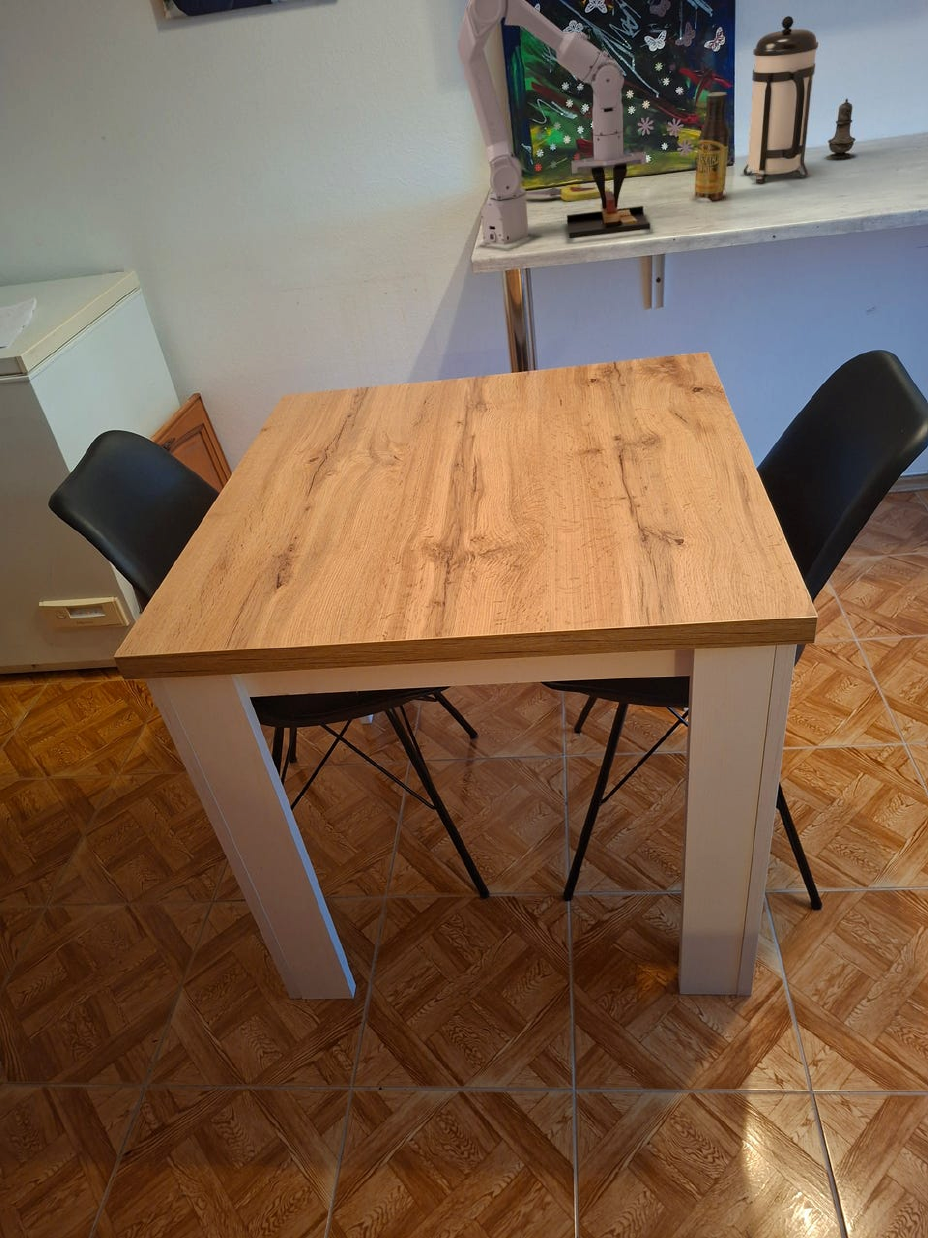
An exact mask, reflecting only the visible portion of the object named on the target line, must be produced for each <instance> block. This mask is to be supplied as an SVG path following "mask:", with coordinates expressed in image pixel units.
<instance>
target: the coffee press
mask: <svg viewBox="0 0 928 1238" xmlns="http://www.w3.org/2000/svg"><path fill="white" fill-rule="evenodd" d="M793 24H794V19H793V17H792V16H790V15H787V16H786V17H785V16H784V18H783V19H782V21H781V26H782V28H783V29H782V30H779V31H774V32H770V33H768V34H765V35H764V36H762V37H761V38H760V39H758V41H757V43H756V45H755V48H753V51H752V54H753V57H754V67H753V69H752V79H751V80H752V93H751V95H752V96H751V112H750V125H749V140H748V141H749V142H748V154H747V155H748V156H747V157H748V158H747V165H746V166H745V167H744V169H743V171H742V173H743V175H744V176H749V175H750V174H752V173H754V174H757V175H756V178H755V183H756V184H762V185H763V184H764V183H765V181H766V179H767V177H768V176H769V175H779V174H780V175H781V174H787V173H795V174H796V175H797V176H798V177H799V178H800V179H803V178H805V177H807V176H808V174H809V170H808V168H807V166H806V164H805V155H806V149H807V139H808V130H809V129H808V128H809V119H810V118H809V117H810V110H811V100H812V89H813V79H814V75H815V72H816V71H815V70H816V62H815V61H816V51H817V50H818V47H819V42H818V41H817V37H816V35H815V33H814V32H812V31H811V30H808V29H801V28H800V29H798V28H797V29H796V28H795V29H792V28H791V27H793ZM800 168H801V169H802V171H803V173H804V175H803V173H802V172H801V171H800V170H799V169H800ZM748 170H750V171H749V172H748Z"/></svg>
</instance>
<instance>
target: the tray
mask: <svg viewBox="0 0 928 1238" xmlns="http://www.w3.org/2000/svg"><path fill="white" fill-rule="evenodd" d="M617 210H618V211H622V210H629V211H630V214H631V216H633V217H634V218H635V219H636V220H637V224H632V225H624V226H620V225H619V224H618V226H615V227H607V228H605V226H604V222H603V218H602V212H601V210H597V211H590V212H589V211H588V212H581V213H573V214H567V215H566V223H567V230H568V238H569V239H577V238H584V237H585V238H586V237H593V236H603V235H609V234H610V235H611V234H619V233H628V232H636V231H644V230H650V229H651V223H650V222H648V221H647V217H646V215H645V212H644V205H639V206H631V207H623V208H617Z"/></svg>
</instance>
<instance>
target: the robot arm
mask: <svg viewBox="0 0 928 1238" xmlns="http://www.w3.org/2000/svg"><path fill="white" fill-rule="evenodd" d="M503 18H504V26H520V27H522V28H523V29H525V30H526V31H527V32H529V33H530V34H532V35H533V36H534V37H536V38H537V39H539V40H540V41H541V42H543V43H544V44H545V45H547V46H548V47H550V48H551V49H552V50H554V51H555V54H556V61H557V63H558V64H559V65H560V66H561V67H563V68H564V69H565V70H567V72H569V73H571V74H572V75H573V76H574V77H575V78H577V79H578V80H580V81H581V82H582V83H583V84H590V86H591V88H592V91H593V93H592V96H593V98H592V100H593V105H592V138H593V142H592V143H593V156H591V157H588V158H582V159H577V160H572V161H571V173H572V175H573V174H578V173H582V172H591V176H592V178H593V180H594V182H595V184H596V188H597V187H598V190H599V192H600V196H601V198H600V199H601V204H602V208H603V209H606V196H605V187H606V174H605V170H606V169H612V179H613V181H612V182H613V190H612V192H613V195H614V199H615V208H617V209H618V206H619V205H618V204H619V203H618V202H619V197H620V193H621V190H622V186H623V183H624V181H625V178H626V176H627V173H628V167H629V166H638V165H640V166H643V165H647V152H646V151H640V152H639V151H638V152H624V120H623V119H624V117H623V116H624V114H623V112H624V110H623V108H624V107H623V103H622V98H623V93H622V89H623V87H624V86H623V85H624V83H625V77H624V74H623V71H622V69H621V67H620V66H619V64H618V62H616V61H615V60H614V58H612V57H608V56H609V53H608V52H607V51H606V50H603V51H602V50H600V49H599V48H598V47H596V46H595V45H594V44H593V43H591V42H590V41H588V38H589V37H588V35H587V34H585V33H584V31H583V32H581V33H579V32H578V31H572V32H568V33H564V31H562V30H561V29H560V28H559V27H557V26H556V25H555V24H554V23H553V22H552V21H550V20H549V19H548V18H547V17H546V16H545V15H543V14H542V13H541V12H540V11H538V10H537V9H536V8H535V7H534V6H532V5H531V4H530V3H529V2H528V1H526V0H468V2H467V4H466V6H465V9H464V13H463V19H462V22H461V27H460V30H459V31H460V32H459V36H458V40H457V46H456V47H457V53H458V56H459V60H460V63H461V66H462V70H463V74H464V76H465V80H466V84H467V87H468V91H469V94H470V97H471V100H472V104H473V108H474V111H475V116H476V118H477V122H478V124H479V128H480V132H481V135H482V138H483V141H484V145H485V149H486V155H487V161H488V164H489V168H490V176H489V185H490V188H491V190H492V191H490V193H489V197H490V198H489V200H488V201H487V202H486V203H485V204H484V205H483V206H482V207H481V211H480V220H481V232H482V238H483V239H482V240H483V241H482V242H481V243H480V245H481V246H482V247H483V246H484V247H485V246H486V243H488V244H495V245H502V246H503V245H504V246H505V245H508V244H510V243H512V242H515V241H518V240H521V239H524V238H526V237H528V236H529V234H530V233H529V222H528V221H529V220H528V209H527V197H526V194H525V192H526V189H525V188H524V187H523V186H522V183H523V182H522V181H523V180H522V179H523V178H522V176H523V175H522V174H523V166H522V163H521V161H520V160H519V158H518V157H517V156H515V154H514V152H513V149H512V145H511V143H510V139H509V137H508V133H507V129H506V126H505V123H504V118H503V115H502V112H501V108H500V104H499V101H498V97H497V94H496V90H495V86H494V82H493V78H492V75H491V71H490V68H489V64H488V61H487V58H486V53H485V46H486V44H487V42H488V40H489V38H490V36H491V33H492V31H493V30H494V29H495V28H496V27H497V26H498V24H499V23H500V22H501V21H502V19H503Z"/></svg>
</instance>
